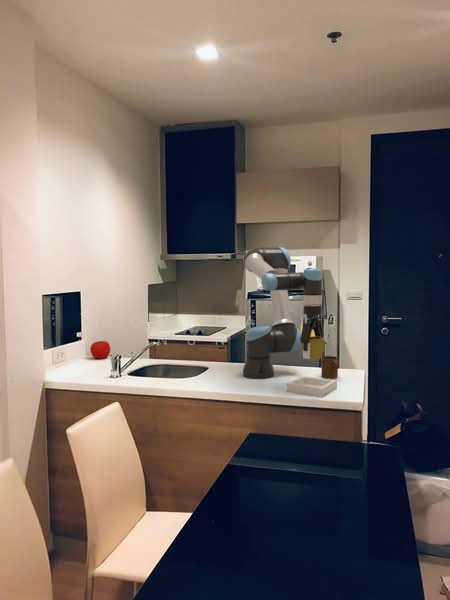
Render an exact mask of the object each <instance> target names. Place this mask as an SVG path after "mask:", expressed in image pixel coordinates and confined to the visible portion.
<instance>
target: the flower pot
mask: <svg viewBox="0 0 450 600" xmlns="http://www.w3.org/2000/svg"><path fill="white" fill-rule="evenodd" d="M300 340H301V337H300ZM325 342H326V339H325V337H324V338H322V337H320V336H315V335H314V336H310V340H309V343H310V359H307V360H308V361H313V360H315V361H316V360H320V359H322V357H323V354H324V351H325V344H326V343H325ZM300 347H301V352H302V353H303V343H301V344H300Z"/></svg>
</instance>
